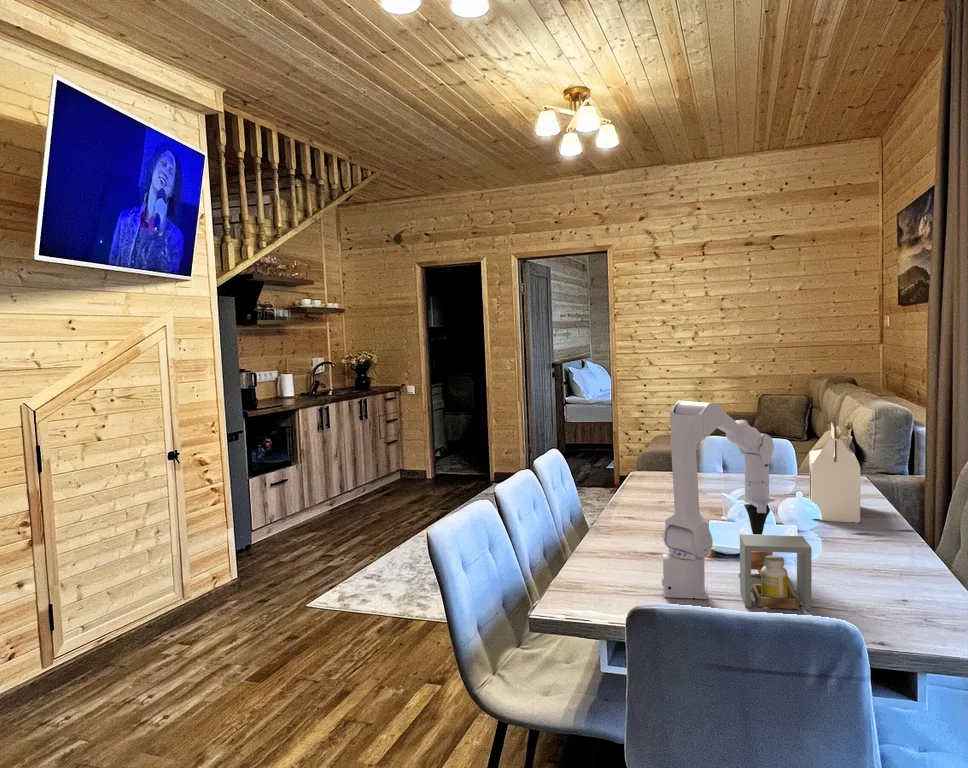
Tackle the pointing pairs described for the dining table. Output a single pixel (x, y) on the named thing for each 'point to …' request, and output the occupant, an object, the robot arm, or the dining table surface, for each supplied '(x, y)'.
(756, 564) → the sled
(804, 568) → the tunnel
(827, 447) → the gable box
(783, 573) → the supplement bottle
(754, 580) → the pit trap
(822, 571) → the dining table surface
